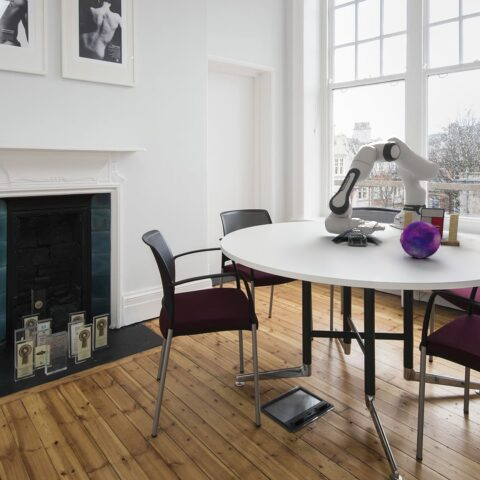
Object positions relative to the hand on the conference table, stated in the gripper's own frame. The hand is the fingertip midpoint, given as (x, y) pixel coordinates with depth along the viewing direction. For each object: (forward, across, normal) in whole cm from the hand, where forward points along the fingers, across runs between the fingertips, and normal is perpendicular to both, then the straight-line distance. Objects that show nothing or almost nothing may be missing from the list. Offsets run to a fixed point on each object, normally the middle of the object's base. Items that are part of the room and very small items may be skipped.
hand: (384, 228), depth 219 cm
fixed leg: (+31, 0, +4) cm, 31 cm away
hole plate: (+25, +9, +6) cm, 27 cm away
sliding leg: (+11, 0, +4) cm, 11 cm away
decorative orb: (+18, -39, +6) cm, 43 cm away
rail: (+21, 0, +6) cm, 22 cm away
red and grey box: (+21, +20, +6) cm, 29 cm away
